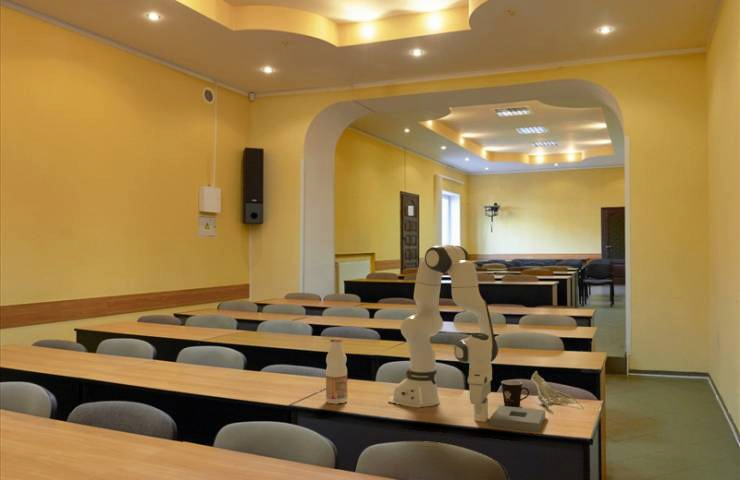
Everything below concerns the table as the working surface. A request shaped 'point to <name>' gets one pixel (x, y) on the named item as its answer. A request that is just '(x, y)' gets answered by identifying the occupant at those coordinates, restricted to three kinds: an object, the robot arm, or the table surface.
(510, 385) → the coffee mug
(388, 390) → the table surface
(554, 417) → the table surface
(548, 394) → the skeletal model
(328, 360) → the fruit juice
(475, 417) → the toothpick box
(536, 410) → the socket
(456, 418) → the table surface
